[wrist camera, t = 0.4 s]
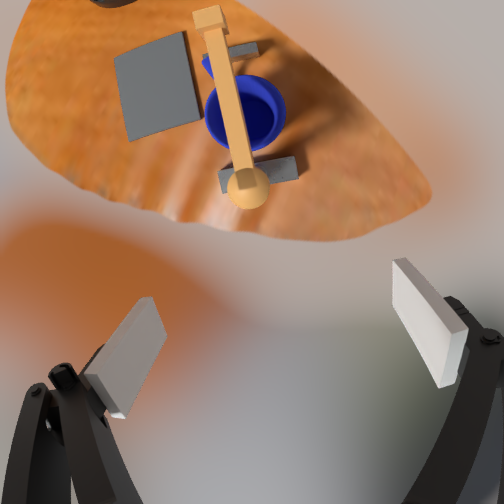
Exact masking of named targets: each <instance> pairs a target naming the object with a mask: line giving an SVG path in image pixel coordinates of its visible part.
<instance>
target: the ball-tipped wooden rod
mask: <svg viewBox="0 0 504 504" xmlns="http://www.w3.org/2000/svg"><path fill="white" fill-rule="evenodd" d="M192 14H193V18H194V23H195V28H196V30H197V31H198V33H199V34H200V35H201V37H202V38H203V39H204V40H205V41H206V45H207V50H208V54H209V59H210V63H211V68H212V72H213V77H214V81H215V85H216V90H217V94H218V99H219V103H220V108H221V112H222V117H223V121H224V126H225V130H226V135H227V139H228V144H229V148H230V153H231V157H232V162H233V166H234V171H235V173H234V174H233V175H232V176H231V177H230V179H229V181H228V185H227V192H228V196H229V198H230V199H231V201H232V202H233V203H234V204H235V205H236V206H238V207H240V208H243V209H254V208H257V207H259V206H260V205H262V204H263V203H264V202H265V201H266V199H267V197H268V194H269V190H270V182H269V179H268V177H267V175H266V174H265V172H264V171H262V170H261V169H259V168H257V167H255V164H254V160H253V155H252V150H251V146H250V141H249V137H248V132H247V127H246V123H245V119H244V114H243V110H242V105H241V101H240V96H239V92H238V88H237V83H236V79H235V75H234V70H233V66H232V62H231V58H230V53H229V49H228V45H227V41H226V37H225V35H227V34H229V31H228V27H227V23H226V19H225V16H224V14H223V12H222V10H221V7H220V5H215V6H211V7H208V8H204V9H200V10H197V11H194V12H192Z"/></svg>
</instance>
